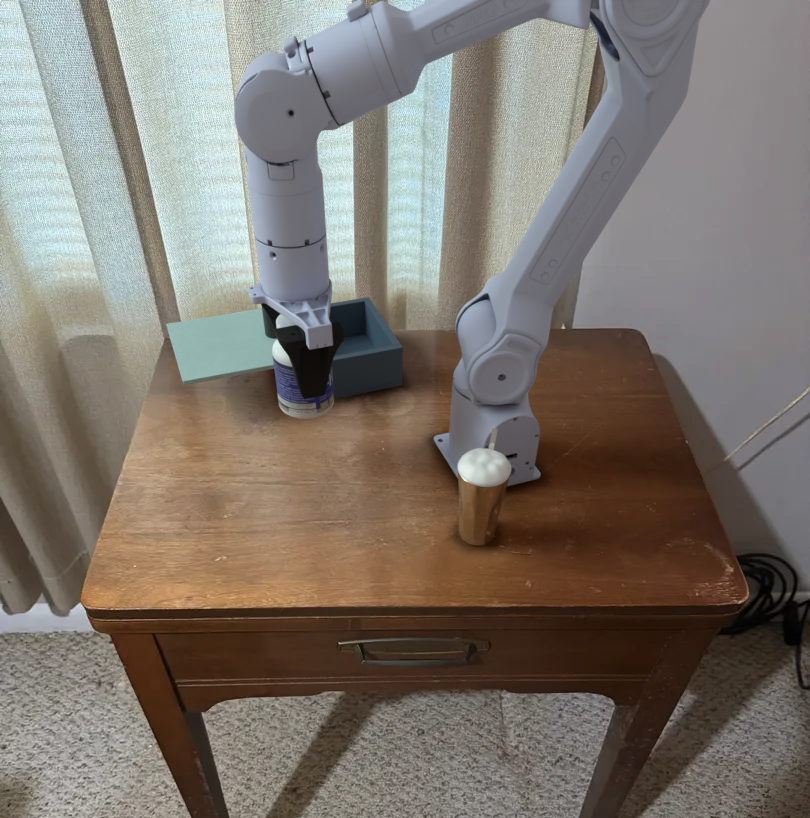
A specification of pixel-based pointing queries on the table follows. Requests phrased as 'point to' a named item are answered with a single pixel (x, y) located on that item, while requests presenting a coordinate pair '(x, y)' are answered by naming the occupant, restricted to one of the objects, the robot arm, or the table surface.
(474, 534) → the milkshake
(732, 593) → the table surface
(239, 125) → the robot arm
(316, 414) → the pill bottle
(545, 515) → the table surface
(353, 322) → the case
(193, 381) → the sliding lid
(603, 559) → the table surface
